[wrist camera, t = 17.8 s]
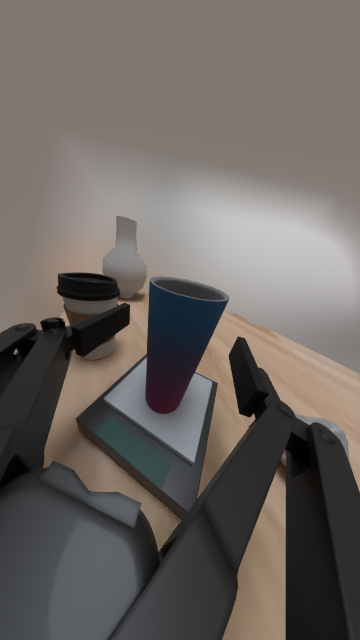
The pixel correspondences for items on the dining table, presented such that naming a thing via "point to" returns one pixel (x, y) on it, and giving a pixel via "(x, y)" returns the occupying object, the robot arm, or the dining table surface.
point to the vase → (125, 260)
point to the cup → (177, 336)
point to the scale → (154, 435)
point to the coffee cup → (89, 302)
